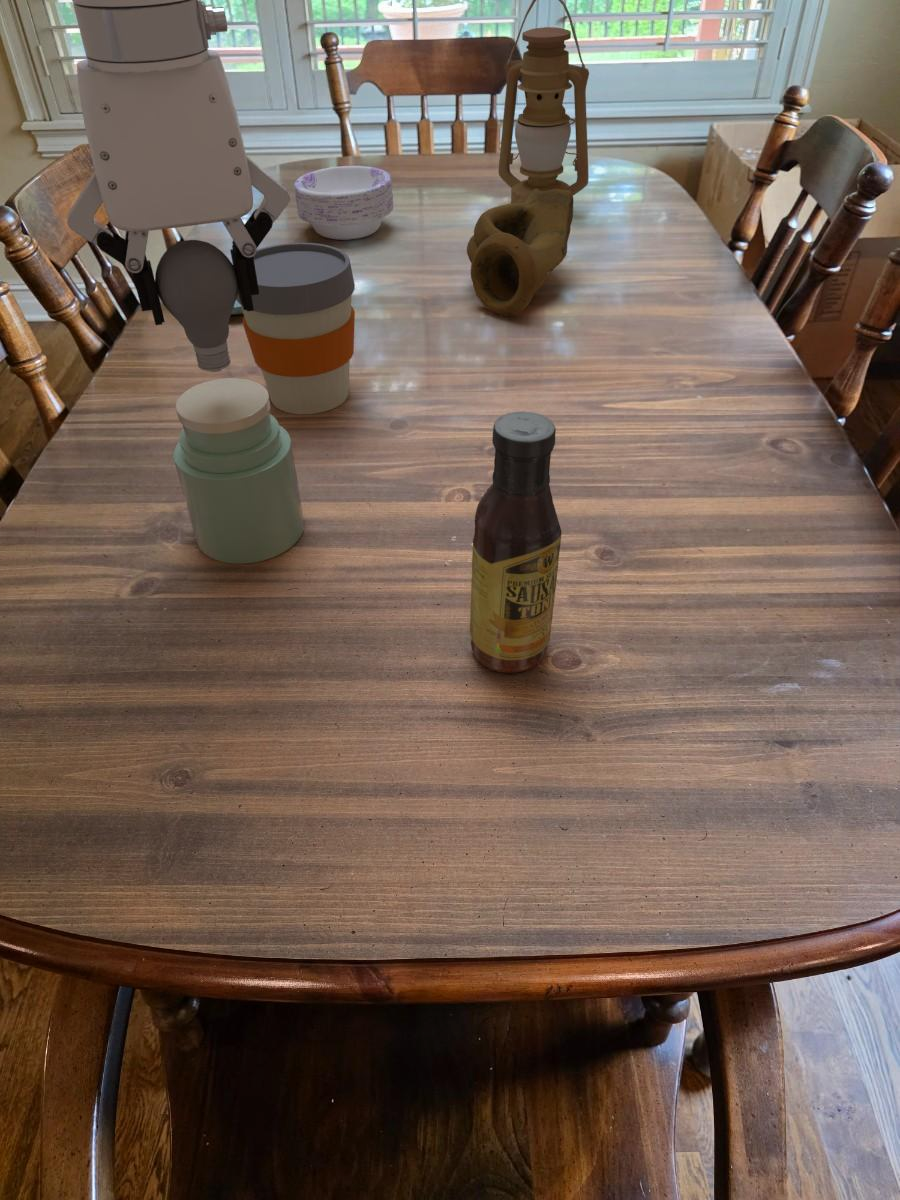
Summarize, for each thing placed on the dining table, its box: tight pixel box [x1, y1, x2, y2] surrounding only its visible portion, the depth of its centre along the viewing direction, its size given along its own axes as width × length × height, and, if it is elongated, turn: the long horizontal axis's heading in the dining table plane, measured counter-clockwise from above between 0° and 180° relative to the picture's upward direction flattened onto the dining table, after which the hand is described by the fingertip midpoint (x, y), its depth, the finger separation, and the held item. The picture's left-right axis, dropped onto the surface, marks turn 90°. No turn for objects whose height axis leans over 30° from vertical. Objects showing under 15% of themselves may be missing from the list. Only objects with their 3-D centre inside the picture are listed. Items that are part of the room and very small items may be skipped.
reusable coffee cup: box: [236, 242, 356, 415], centre depth 95 cm, size 13×13×15 cm
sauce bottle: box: [469, 411, 563, 674], centre depth 62 cm, size 6×6×20 cm
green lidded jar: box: [173, 377, 305, 565], centre depth 76 cm, size 10×10×14 cm
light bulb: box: [154, 239, 238, 373], centre depth 66 cm, size 6×6×10 cm
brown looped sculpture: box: [466, 188, 574, 317], centre depth 119 cm, size 18×13×22 cm
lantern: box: [498, 0, 590, 204], centre depth 135 cm, size 15×10×30 cm
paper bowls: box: [293, 165, 394, 241], centre depth 137 cm, size 15×15×8 cm
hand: (202, 309), depth 66 cm, fingers closed on light bulb, 6 cm apart
